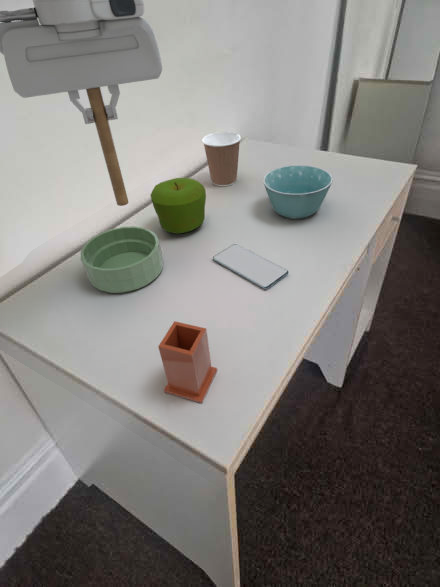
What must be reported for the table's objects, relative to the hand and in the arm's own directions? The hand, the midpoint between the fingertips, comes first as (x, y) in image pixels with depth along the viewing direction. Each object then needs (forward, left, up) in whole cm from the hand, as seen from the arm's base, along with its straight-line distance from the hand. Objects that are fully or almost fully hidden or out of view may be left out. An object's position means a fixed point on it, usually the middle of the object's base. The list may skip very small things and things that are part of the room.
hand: (101, 120), depth 55 cm
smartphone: (+20, +9, -30) cm, 37 cm away
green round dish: (-4, +1, -30) cm, 30 cm away
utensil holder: (+20, -20, -30) cm, 41 cm away
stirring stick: (0, 0, -14) cm, 14 cm away
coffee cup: (+1, +46, -30) cm, 55 cm away
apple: (0, +20, -30) cm, 36 cm away
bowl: (+24, +34, -30) cm, 51 cm away
